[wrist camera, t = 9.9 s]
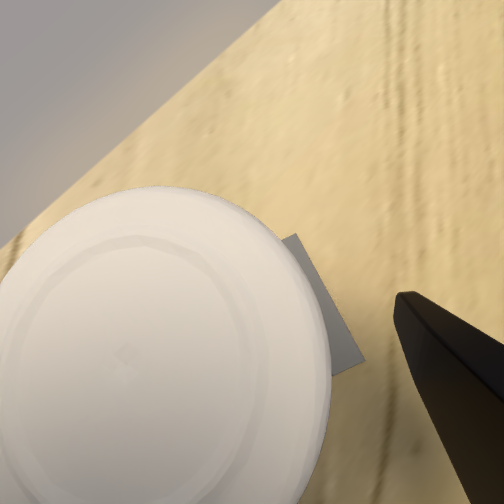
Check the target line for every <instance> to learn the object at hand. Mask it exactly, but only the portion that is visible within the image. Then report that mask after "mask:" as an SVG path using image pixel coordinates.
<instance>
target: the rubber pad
mask: <svg viewBox="0 0 504 504" xmlns="http://www.w3.org/2000/svg"><path fill="white" fill-rule="evenodd" d="M281 241H282V242H283V244H284V245H285V246H286V247H287V248H288V249H289V251H290V252H291V253H292V254H293V256H294V257H295V258H296V260H297V262H298V263H299V265H300V266H301V268H302V270H303V271H304V273H305V274H306V276H307V278H308V280H309V282H310V284H311V286H312V288H313V290H314V292H315V295H316V297H317V300H318V302H319V305H320V308H321V312H322V315H323V319H324V323H325V326H326V330H327V334H328V340H329V347H330V354H331V377H332V376H334V375H336V374H338V373H340V372H342V371H344V370H347V369H349V368H351V367H353V366H355V365H357V364H359V363H362V362H364V361H365V359H364V357H363V355H362V353H361V352H360V350H359V348H358V346H357V344H356V342H355V341H354V339H353V337H352V335H351V333H350V331H349V330H348V328H347V326H346V324H345V322H344V320H343V319H342V317H341V315H340V313H339V311H338V309H337V308H336V306H335V304H334V302H333V300H332V298H331V297H330V295H329V293H328V291H327V289H326V287H325V286H324V284H323V282H322V280H321V278H320V276H319V275H318V273H317V271H316V269H315V267H314V265H313V264H312V262H311V260H310V258H309V256H308V254H307V253H306V251H305V249H304V247H303V245H302V243H301V242H300V240H299V238H298V236H297V234H296V233H295V234H293V235H291V236H289V237H287V238H285V239H283V240H281Z"/></svg>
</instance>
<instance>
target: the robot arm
mask: <svg viewBox="0 0 504 504" xmlns="http://www.w3.org/2000/svg"><path fill="white" fill-rule="evenodd" d="M393 319H394V325H395V328H396V331H397V334H398V337H399V340H400V343H401V345H402V348H403V351H404V354H405V357H406V360H407V363H408V366H409V369H410V372H411V375H412V378H413V380H414V383H415V385H416V387H417V390H418V392H419V394H420V396H421V398H422V401H423V403H424V405H425V407H426V409H427V411H428V413H429V416H430V418H431V420H432V422H433V424H434V426H435V428H436V431H437V433H438V435H439V437H440V439H441V441H442V443H443V446H444V448H445V450H446V452H447V454H448V456H449V458H450V461H451V463H452V465H453V467H454V469H455V471H456V473H457V476H458V478H459V480H460V482H461V484H462V486H463V488H464V491H465V493H466V495H467V497H468V499H469V501H470V503H471V504H504V345H503V344H502V343H500V342H498V341H497V340H495V339H493V338H492V337H490V336H488V335H487V334H485V333H484V332H482V331H480V330H479V329H477V328H475V327H474V326H472V325H470V324H469V323H467V322H465V321H464V320H462V319H460V318H459V317H457V316H455V315H454V314H452V313H450V312H449V311H447V310H445V309H444V308H442V307H440V306H439V305H437V304H436V303H434V302H432V301H431V300H429V299H427V298H426V297H424V296H422V295H421V294H419V293H417V292H415V291H408V292H399V293H397V295H396V299H395V307H394V315H393Z"/></svg>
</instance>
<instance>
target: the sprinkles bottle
mask: <svg viewBox="0 0 504 504" xmlns="http://www.w3.org/2000/svg"><path fill="white" fill-rule="evenodd" d="M331 392H332V381H331V354H330V347H329V340H328V334H327V330H326V326H325V323H324V319H323V315H322V312H321V308H320V305H319V302H318V300H317V297H316V295H315V292H314V290H313V288H312V286H311V284H310V282H309V280H308V278H307V276H306V274H305V273H304V271H303V270H302V268H301V266H300V265H299V263H298V262H297V260H296V258H295V257H294V256H293V254H292V253H291V252H290V251H289V249H288V248H287V247H286V246H285V245H284V244H283V242H282V241H281V240H280V239H279V238H278V237H277V236H276V235H275V234H274V233H273V232H272V231H271V230H270V229H269V228H268V227H267V226H266V225H264V224H263V223H262V222H261V221H260V220H259V219H257V218H256V217H255V216H253V215H252V214H250V213H249V212H247V211H245V210H244V209H242V208H241V207H239V206H237V205H235V204H233V203H231V202H229V201H227V200H225V199H223V198H221V197H219V196H216V195H212V194H209V193H205V192H202V191H198V190H194V189H188V188H181V187H170V186H150V187H142V188H134V189H129V190H124V191H120V192H115V193H113V194H110V195H107V196H104V197H102V198H99V199H96V200H94V201H92V202H90V203H88V204H86V205H84V206H82V207H80V208H78V209H76V210H74V211H72V212H71V213H69V214H68V215H66V216H65V217H64V218H62V219H61V220H59V221H58V222H56V223H55V224H54V225H52V226H51V227H50V228H49V229H47V230H46V231H45V232H44V233H42V234H41V235H40V236H39V237H38V238H37V239H36V240H35V241H34V242H33V243H32V244H31V245H30V246H29V247H28V248H27V249H26V250H25V251H24V252H23V254H22V255H21V256H20V257H19V259H18V260H17V261H16V263H15V264H14V265H13V266H12V268H11V269H10V270H9V272H8V273H7V274H6V276H5V277H4V279H3V280H2V282H1V284H0V504H297V503H298V501H299V500H300V498H301V496H302V494H303V493H304V491H305V489H306V487H307V485H308V482H309V480H310V478H311V475H312V473H313V471H314V468H315V466H316V463H317V460H318V458H319V455H320V452H321V448H322V445H323V441H324V437H325V434H326V429H327V423H328V418H329V412H330V402H331Z"/></svg>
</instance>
